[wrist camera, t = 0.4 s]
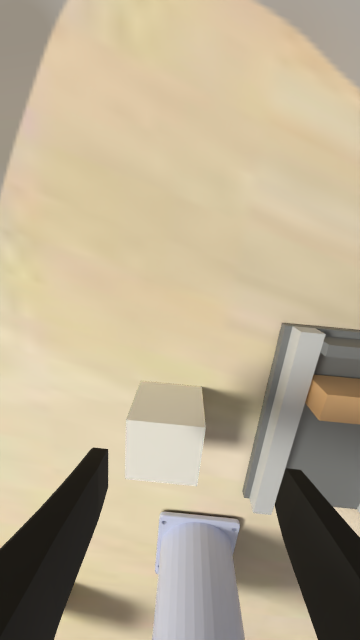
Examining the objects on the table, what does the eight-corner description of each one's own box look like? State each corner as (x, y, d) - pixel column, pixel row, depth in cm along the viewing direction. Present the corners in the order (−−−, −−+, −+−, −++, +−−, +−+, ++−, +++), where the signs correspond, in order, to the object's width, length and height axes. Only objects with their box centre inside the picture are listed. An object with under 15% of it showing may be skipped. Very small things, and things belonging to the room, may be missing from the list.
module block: (195, 434, 19) (197, 486, 15) (139, 429, 19) (125, 479, 15) (201, 385, 18) (205, 427, 14) (141, 380, 18) (126, 419, 14)
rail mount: (374, 504, 21) (397, 535, 18) (242, 491, 21) (249, 520, 19) (455, 339, 16) (501, 353, 14) (281, 322, 16) (297, 334, 14)
